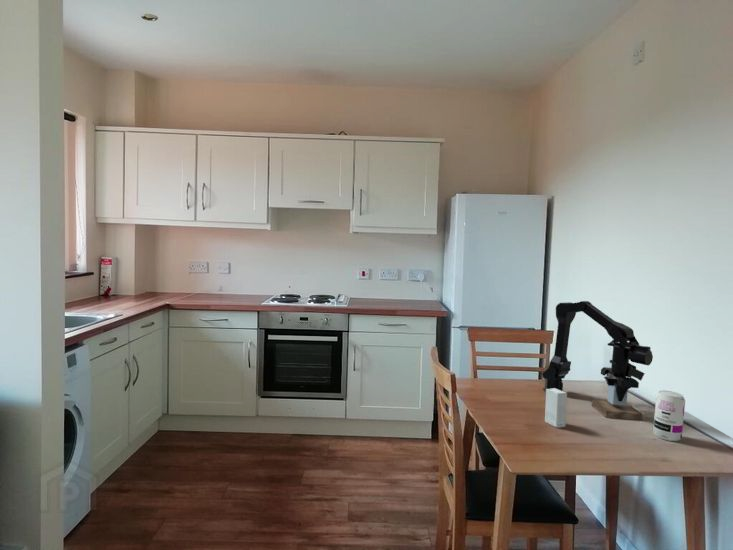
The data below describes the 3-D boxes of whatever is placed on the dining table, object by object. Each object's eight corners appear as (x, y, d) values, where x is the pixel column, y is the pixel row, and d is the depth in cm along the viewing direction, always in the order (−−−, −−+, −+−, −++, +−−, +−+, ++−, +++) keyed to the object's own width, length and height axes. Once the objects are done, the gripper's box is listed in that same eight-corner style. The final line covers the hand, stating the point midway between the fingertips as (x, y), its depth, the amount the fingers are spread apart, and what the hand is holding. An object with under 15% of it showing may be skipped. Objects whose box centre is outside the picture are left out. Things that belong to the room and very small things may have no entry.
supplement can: (677, 434, 162) (681, 392, 161) (684, 443, 154) (689, 399, 153) (650, 430, 165) (654, 388, 164) (656, 439, 157) (660, 395, 156)
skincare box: (566, 427, 164) (568, 392, 163) (555, 428, 162) (558, 393, 162) (553, 420, 170) (555, 387, 169) (543, 421, 168) (545, 388, 167)
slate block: (612, 404, 179) (614, 389, 179) (607, 400, 184) (608, 385, 184) (626, 405, 179) (627, 390, 179) (620, 401, 184) (621, 386, 184)
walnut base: (605, 417, 176) (606, 411, 176) (591, 405, 189) (592, 399, 189) (641, 420, 175) (642, 413, 175) (625, 408, 188) (625, 402, 188)
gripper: (655, 366, 171) (651, 409, 172) (630, 355, 189) (626, 393, 190) (623, 364, 172) (619, 406, 173) (601, 353, 190) (598, 391, 191)
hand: (616, 399), depth 182 cm, fingers closed on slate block, 5 cm apart
